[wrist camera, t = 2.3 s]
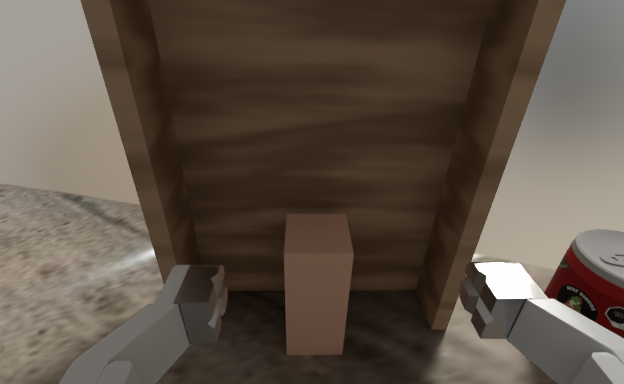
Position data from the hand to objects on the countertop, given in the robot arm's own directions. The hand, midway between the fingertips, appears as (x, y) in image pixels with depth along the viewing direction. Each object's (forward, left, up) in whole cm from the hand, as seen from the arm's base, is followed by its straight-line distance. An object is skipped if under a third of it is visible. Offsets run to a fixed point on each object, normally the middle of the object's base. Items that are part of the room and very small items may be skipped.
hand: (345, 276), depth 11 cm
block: (+2, +12, -19) cm, 23 cm away
